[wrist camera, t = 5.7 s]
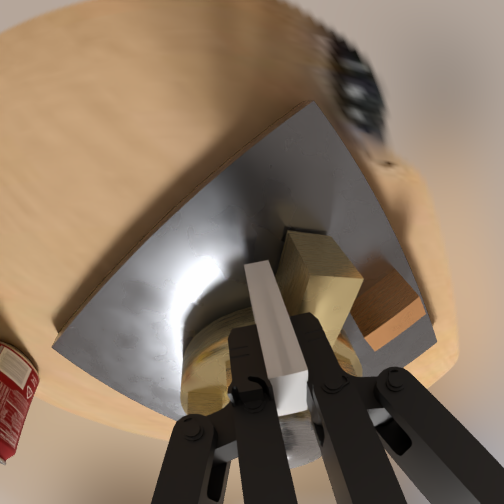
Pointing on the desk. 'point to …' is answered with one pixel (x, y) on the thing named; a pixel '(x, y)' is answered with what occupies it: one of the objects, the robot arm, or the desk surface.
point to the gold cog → (296, 302)
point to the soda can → (14, 396)
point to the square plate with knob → (233, 272)
